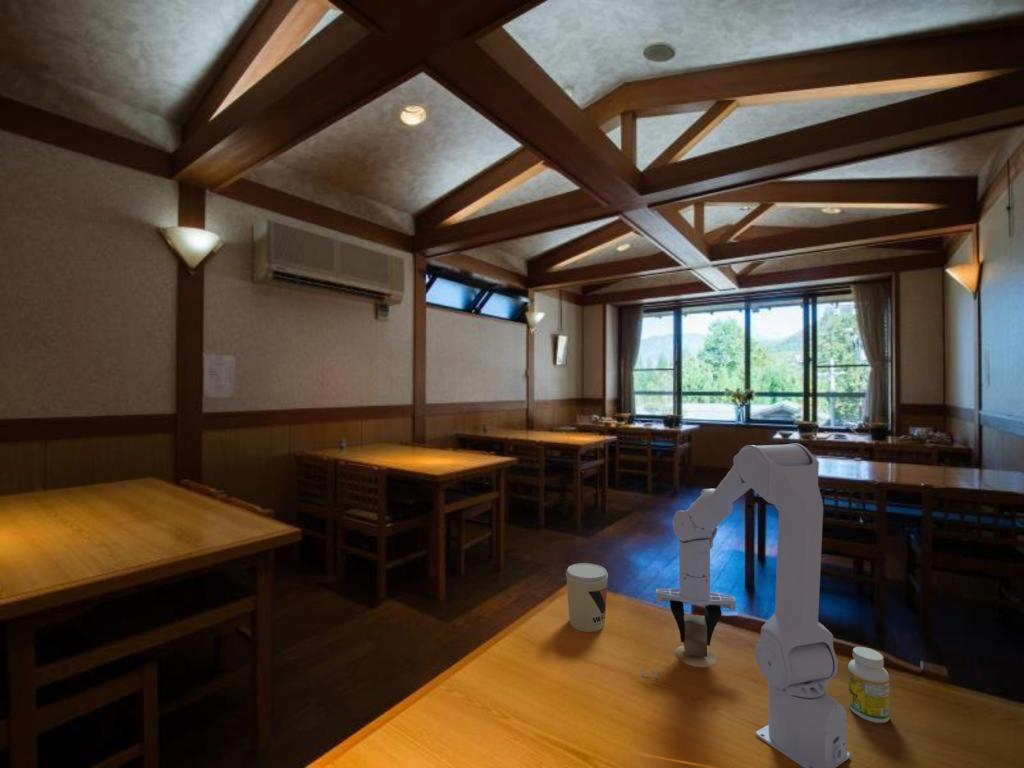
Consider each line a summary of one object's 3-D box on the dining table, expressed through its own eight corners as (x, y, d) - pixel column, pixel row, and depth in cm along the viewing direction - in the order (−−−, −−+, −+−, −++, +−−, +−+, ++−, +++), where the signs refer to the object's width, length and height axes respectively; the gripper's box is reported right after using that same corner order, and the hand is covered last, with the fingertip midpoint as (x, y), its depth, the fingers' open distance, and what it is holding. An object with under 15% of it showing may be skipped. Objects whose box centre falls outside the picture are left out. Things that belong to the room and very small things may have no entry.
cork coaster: (724, 660, 92) (724, 659, 92) (698, 672, 89) (698, 671, 89) (692, 642, 99) (692, 641, 99) (666, 652, 95) (666, 651, 95)
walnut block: (704, 646, 95) (704, 615, 95) (707, 657, 91) (707, 625, 92) (683, 643, 96) (683, 613, 96) (685, 654, 92) (684, 622, 93)
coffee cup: (598, 639, 101) (598, 581, 101) (558, 627, 106) (558, 572, 106) (614, 620, 108) (614, 567, 109) (577, 610, 114) (576, 559, 114)
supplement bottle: (895, 727, 74) (894, 665, 74) (853, 719, 76) (853, 658, 76) (882, 706, 79) (882, 648, 79) (844, 698, 81) (843, 641, 81)
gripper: (730, 568, 96) (731, 636, 96) (655, 561, 100) (655, 626, 100) (737, 581, 89) (738, 655, 89) (656, 574, 93) (656, 644, 93)
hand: (695, 641), depth 94 cm, fingers closed on walnut block, 4 cm apart
